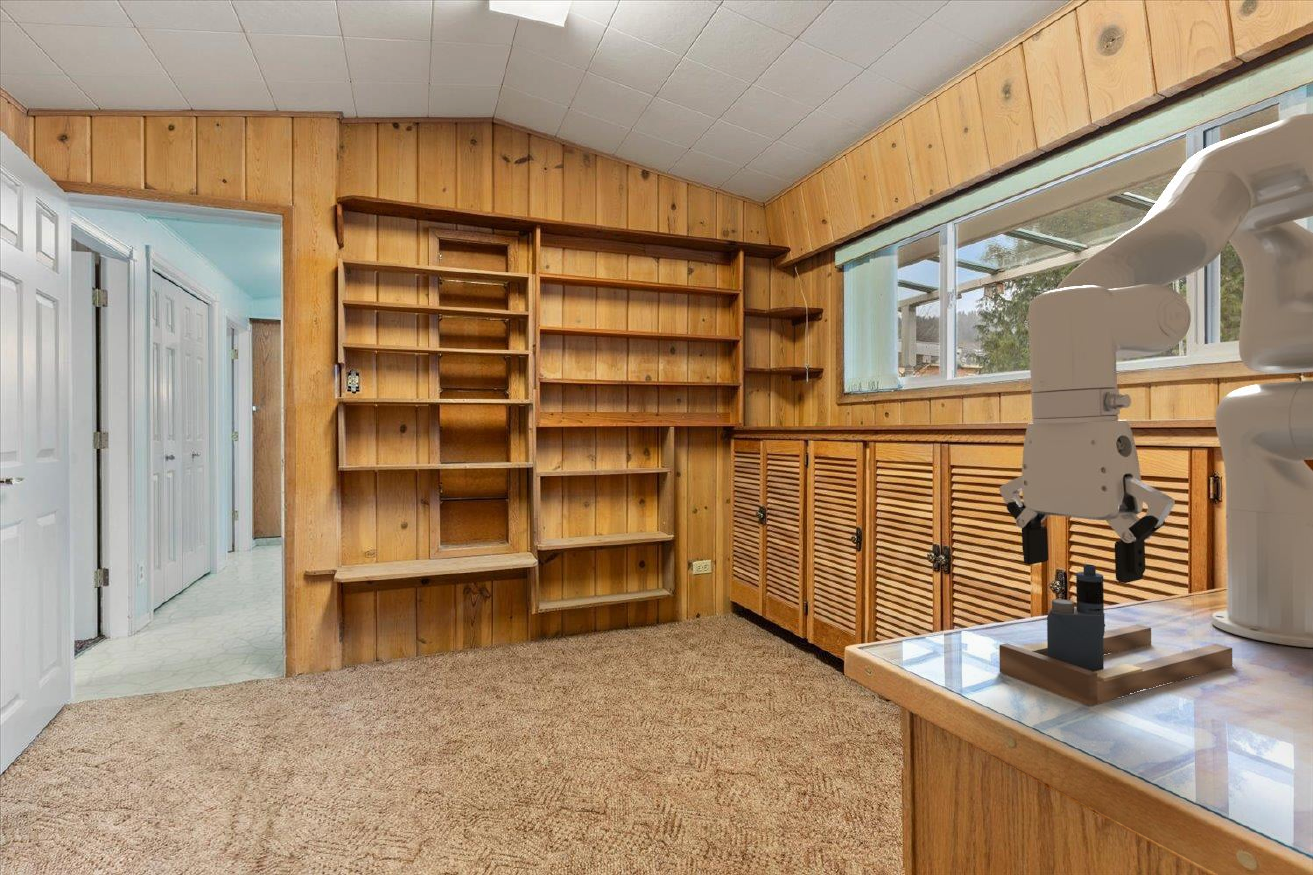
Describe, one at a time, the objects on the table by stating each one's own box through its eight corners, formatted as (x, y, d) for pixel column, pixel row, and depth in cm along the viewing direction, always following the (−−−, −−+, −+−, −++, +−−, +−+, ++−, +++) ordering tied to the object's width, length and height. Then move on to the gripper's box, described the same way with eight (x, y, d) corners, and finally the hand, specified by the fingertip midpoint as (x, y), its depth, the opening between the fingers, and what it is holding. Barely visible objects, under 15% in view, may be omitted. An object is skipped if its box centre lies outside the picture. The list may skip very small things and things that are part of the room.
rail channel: (1137, 640, 78) (1137, 616, 78) (1232, 666, 69) (1232, 638, 69) (999, 672, 69) (999, 644, 69) (1089, 706, 60) (1089, 674, 60)
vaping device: (1110, 685, 65) (1109, 568, 65) (1054, 682, 66) (1052, 567, 66) (1098, 676, 67) (1096, 563, 67) (1043, 673, 68) (1042, 562, 68)
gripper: (1191, 402, 60) (1197, 583, 60) (1021, 410, 76) (1027, 552, 76) (1142, 405, 57) (1149, 595, 57) (976, 412, 73) (982, 561, 73)
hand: (1079, 571), depth 67 cm, fingers open, 9 cm apart
